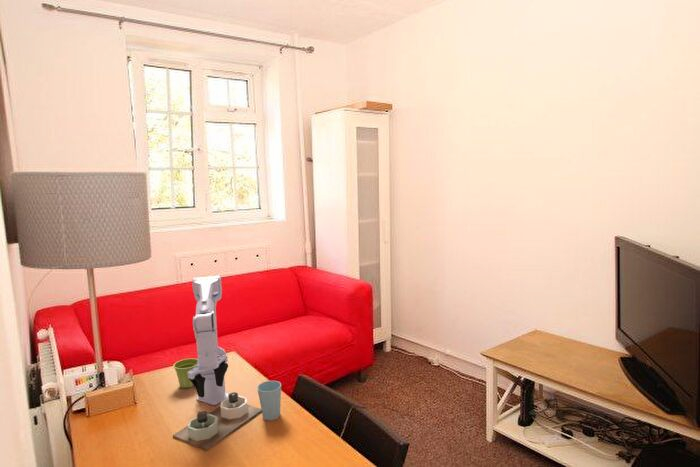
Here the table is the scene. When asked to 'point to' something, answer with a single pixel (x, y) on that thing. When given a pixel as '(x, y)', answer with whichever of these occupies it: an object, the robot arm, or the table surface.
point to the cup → (270, 399)
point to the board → (219, 428)
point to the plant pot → (185, 371)
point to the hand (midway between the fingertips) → (210, 390)
